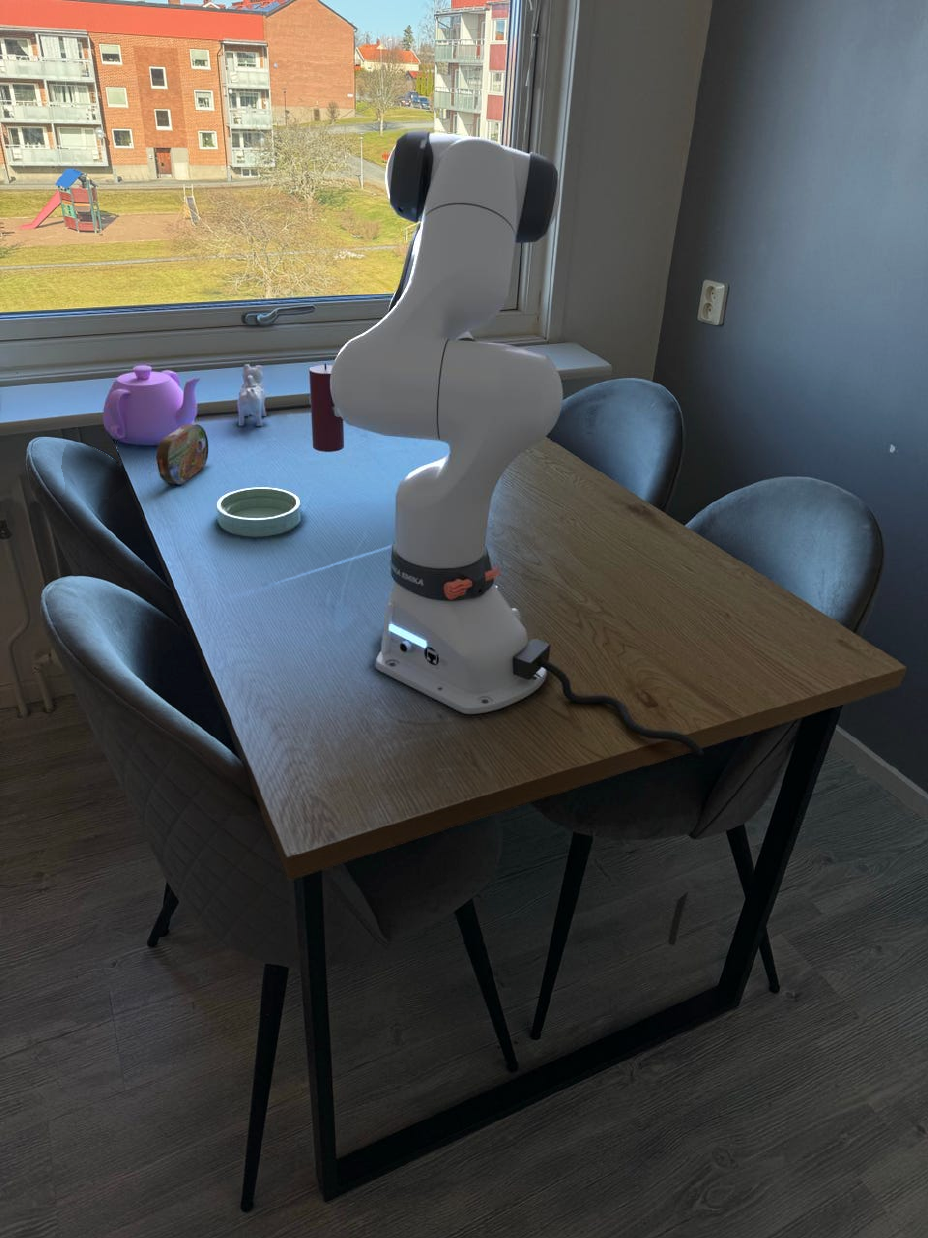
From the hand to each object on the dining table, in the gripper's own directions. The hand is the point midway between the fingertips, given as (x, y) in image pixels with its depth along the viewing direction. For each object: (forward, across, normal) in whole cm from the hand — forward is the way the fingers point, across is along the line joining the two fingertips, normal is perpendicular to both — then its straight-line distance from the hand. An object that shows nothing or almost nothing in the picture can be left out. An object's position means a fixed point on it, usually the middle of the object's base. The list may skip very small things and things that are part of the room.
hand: (322, 405), depth 143 cm
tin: (+14, -25, +17) cm, 33 cm away
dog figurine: (-12, -47, +18) cm, 51 cm away
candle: (-1, 0, +7) cm, 7 cm away
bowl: (+13, 0, +17) cm, 21 cm away
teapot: (+9, -46, +17) cm, 50 cm away
